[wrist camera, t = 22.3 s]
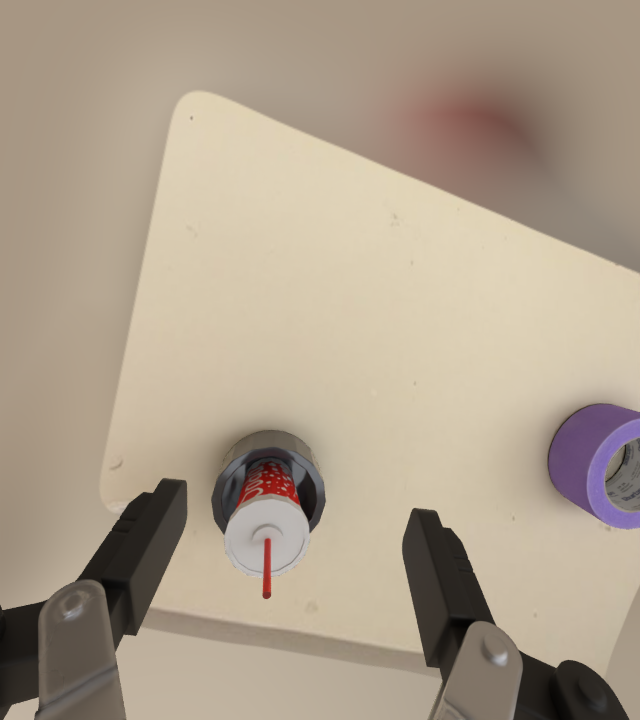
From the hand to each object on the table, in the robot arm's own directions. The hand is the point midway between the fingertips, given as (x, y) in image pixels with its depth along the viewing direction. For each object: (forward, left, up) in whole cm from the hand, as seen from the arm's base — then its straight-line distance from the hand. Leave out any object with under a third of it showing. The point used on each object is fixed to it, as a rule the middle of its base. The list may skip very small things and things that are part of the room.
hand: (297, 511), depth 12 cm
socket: (-2, -9, -21) cm, 23 cm away
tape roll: (+34, -12, -21) cm, 42 cm away
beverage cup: (-2, -9, -21) cm, 23 cm away
